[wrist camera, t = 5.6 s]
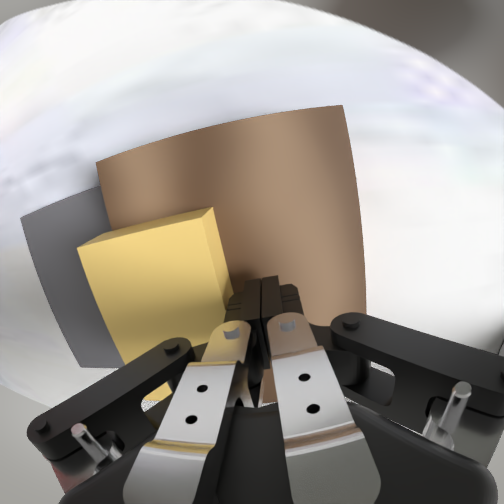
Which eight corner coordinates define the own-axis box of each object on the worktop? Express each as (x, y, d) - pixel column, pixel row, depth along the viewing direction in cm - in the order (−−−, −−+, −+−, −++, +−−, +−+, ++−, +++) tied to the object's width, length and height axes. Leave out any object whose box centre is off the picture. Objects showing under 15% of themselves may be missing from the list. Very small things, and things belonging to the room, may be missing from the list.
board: (324, 116, 15) (342, 104, 11) (350, 349, 20) (364, 384, 16) (128, 160, 16) (95, 162, 12) (194, 371, 21) (183, 408, 17)
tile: (212, 206, 13) (201, 217, 11) (252, 365, 16) (250, 395, 13) (102, 233, 14) (76, 248, 11) (157, 372, 16) (145, 400, 14)
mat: (118, 179, 17) (116, 180, 16) (178, 363, 21) (177, 366, 20) (23, 216, 17) (20, 217, 17) (82, 364, 22) (80, 367, 21)
